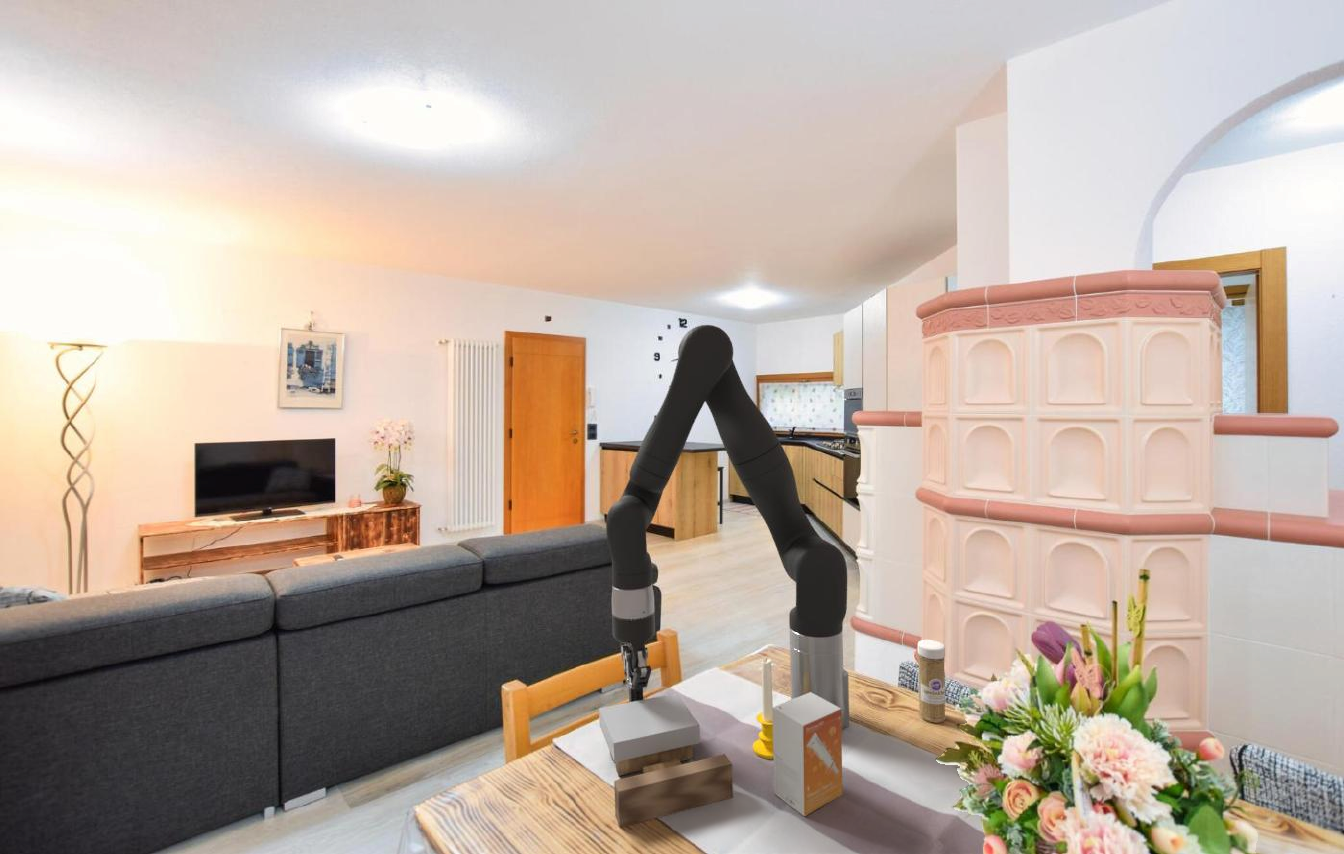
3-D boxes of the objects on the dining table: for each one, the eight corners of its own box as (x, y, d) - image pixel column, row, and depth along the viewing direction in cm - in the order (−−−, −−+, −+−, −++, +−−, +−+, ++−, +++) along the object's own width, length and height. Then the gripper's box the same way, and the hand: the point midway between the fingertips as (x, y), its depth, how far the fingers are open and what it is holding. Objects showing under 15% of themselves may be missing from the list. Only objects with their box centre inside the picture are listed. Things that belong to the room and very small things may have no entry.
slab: (677, 709, 103) (676, 692, 103) (699, 742, 93) (699, 724, 92) (599, 725, 98) (598, 708, 98) (614, 762, 88) (613, 743, 88)
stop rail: (725, 786, 87) (724, 753, 87) (732, 796, 85) (731, 763, 84) (615, 815, 82) (614, 780, 81) (619, 827, 79) (618, 791, 79)
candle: (759, 761, 93) (757, 665, 92) (748, 743, 98) (746, 652, 98) (789, 756, 94) (787, 661, 94) (777, 738, 99) (775, 649, 99)
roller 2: (677, 777, 90) (675, 756, 91) (683, 783, 88) (681, 762, 88) (643, 785, 89) (641, 764, 89) (648, 792, 86) (646, 770, 86)
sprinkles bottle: (928, 725, 102) (927, 650, 101) (913, 712, 106) (911, 640, 106) (951, 721, 103) (950, 647, 102) (935, 709, 107) (934, 637, 107)
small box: (804, 818, 80) (802, 725, 79) (772, 793, 85) (770, 706, 85) (844, 795, 84) (842, 707, 84) (811, 773, 90) (809, 690, 89)
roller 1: (685, 750, 96) (684, 730, 96) (693, 762, 93) (692, 741, 93) (615, 767, 92) (614, 745, 92) (620, 780, 89) (619, 758, 89)
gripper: (664, 619, 97) (667, 720, 98) (643, 595, 110) (646, 685, 110) (621, 625, 95) (624, 729, 95) (604, 600, 107) (607, 692, 108)
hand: (636, 705), depth 103 cm, fingers closed
